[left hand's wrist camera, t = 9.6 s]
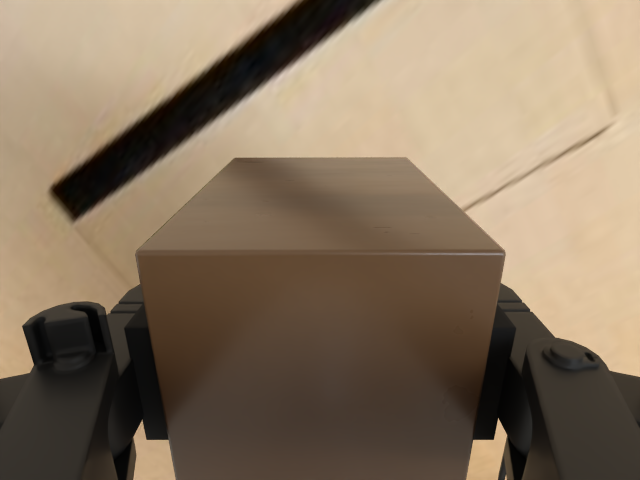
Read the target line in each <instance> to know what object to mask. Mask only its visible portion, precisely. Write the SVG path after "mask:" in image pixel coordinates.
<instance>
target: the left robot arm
mask: <svg viewBox="0 0 640 480" xmlns="http://www.w3.org/2000/svg"><path fill="white" fill-rule="evenodd" d="M22 327H23V330H24V334H25V337H26V340H27V343H28V347H29V350H30V353H31V356H32V360H33V363H34V366H33V368H32V370H31V372H30V373H28V374H23V375H18V376H13V377H8V378H3V379H0V480H133V477H134V469H135V462H136V449H135V444H134V439H133V436H134V434H135V432H136V430H137V429H138V427H139V425H140V423H141V421H142V419H143V424H144V429H145V434H146V439H147V440H169V439H168V433H167V427H166V422H165V416H164V411H163V405H162V400H161V394H160V389H159V383H158V378H157V372H156V366H155V361H154V355H153V350H152V344H151V339H150V333H149V328H148V322H147V317H146V311H145V306H144V300H143V294H142V289H141V284H140V285H138V286H136V287H135V288H133V289H131V290H129V291H128V292H127V293H126V294H125V296H124V297H123V298H122V299H121V300H120V301H119V304H116V306H115V307H114V308H113V309H112V310H111V313H108V315H106V311H105V308H104V307H103V306H101V305H100V304H98V303H93V302H72V303H67V304H63V305H58V306H55V307H52V308H50V309H47V310H44V311H42V312H40V313H39V314H37V315H35V316H33V317H31V318H30V319H29V320H28V321H27V322H26V323H25V324H24V325H23V326H22ZM498 418H499V420H500V422H501V424H502V426H503V428H504V430H505V431H506V433H507V439H506V444H505V448H504V453H503V457H502V462H501V466H500V471H499V477H498V480H505V476H507V480H640V377H637V376H632V375H627V374H622V373H617V372H612V371H609V369H608V367H607V366H606V364H605V363H604V362H603V360H602V359H601V358H600V357H599V356H598V355H597V354H595V353H594V352H592V351H591V350H589V349H588V348H586V347H584V346H582V345H579V344H577V343H574V342H572V341H568V340H564V339H560V338H555V337H554V336H553V335H552V333H551V332H550V331H549V330H548V329H547V328H546V327H545V326H544V325H543V323H542V322H541V321H540V320H539V319H538V318H537V317H536V316H535V315H534V313H533V312H530V309H529V308H528V307H527V306H526V304H525V303H522V300H521V299H520V298H519V297H518V296H517V294H516V293H515V292H514V291H513V290H512V289H510V288H508V287H507V286H505V285H503V284H502V283H500V289H499V295H498V300H497V306H496V312H495V317H494V323H493V329H492V334H491V340H490V346H489V352H488V357H487V363H486V369H485V374H484V380H483V386H482V391H481V397H480V403H479V409H478V414H477V420H476V426H475V431H474V437H473V440H494V436H495V431H496V426H497V421H498Z"/></svg>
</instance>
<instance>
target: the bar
mask: <svg viewBox="0 0 640 480" xmlns="http://www.w3.org/2000/svg"><path fill="white" fill-rule="evenodd" d="M135 256H136V261H137V267H138V272H139V278H140V283H141V289H142V294H143V300H144V306H145V311H146V317H147V322H148V328H149V333H150V339H151V344H152V350H153V355H154V361H155V366H156V372H157V378H158V383H159V389H160V394H161V400H162V405H163V411H164V416H165V422H166V427H167V433H168V439H169V444H170V450H171V455H172V461H173V466H174V472H175V477H176V480H466V477H467V471H468V465H469V460H470V454H471V448H472V443H473V437H474V431H475V426H476V420H477V414H478V409H479V403H480V397H481V391H482V386H483V380H484V374H485V369H486V363H487V357H488V352H489V346H490V340H491V334H492V329H493V323H494V317H495V312H496V306H497V300H498V295H499V289H500V283H501V278H502V272H503V266H504V260H505V250H504V249H503V248H502V247H501V246H500V245H499V244H497V243H496V242H495V241H494V240H493V239H492V238H491V237H490V236H489V235H488V234H487V233H486V232H485V231H484V230H483V229H482V228H481V227H479V226H478V225H477V224H476V223H475V222H474V221H473V220H472V219H471V218H470V217H469V216H468V215H467V214H466V213H465V212H464V211H463V210H462V209H460V208H459V207H458V206H457V205H456V204H455V203H454V202H453V201H452V200H451V199H450V198H449V197H448V196H447V195H446V194H445V193H444V192H443V191H441V190H440V189H439V188H438V187H437V186H436V185H435V184H434V183H433V182H432V181H431V180H430V179H429V178H428V177H427V176H426V175H425V174H423V173H422V172H421V171H420V170H419V169H418V168H417V167H416V166H415V165H414V164H413V163H412V162H411V161H410V160H409V159H408V158H234V159H233V160H232V161H231V162H230V163H229V164H228V165H227V166H225V167H224V168H223V169H222V170H221V171H220V172H219V173H218V174H217V175H216V176H215V177H214V178H213V179H212V180H211V181H210V182H209V183H208V184H206V185H205V186H204V187H203V188H202V189H201V190H200V191H199V192H198V193H197V194H196V195H195V196H194V197H193V198H192V199H191V200H190V201H189V202H187V203H186V204H185V205H184V206H183V207H182V208H181V209H180V210H179V211H178V212H177V213H176V214H175V215H174V216H173V217H172V218H171V219H170V220H168V221H167V222H166V223H165V224H164V225H163V226H162V227H161V228H160V229H159V230H158V231H157V232H156V233H155V234H154V235H153V236H152V237H151V238H149V239H148V240H147V241H146V242H145V243H144V244H143V245H142V246H141V247H140V248H139V249H138V250H137V251H136V254H135Z"/></svg>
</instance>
